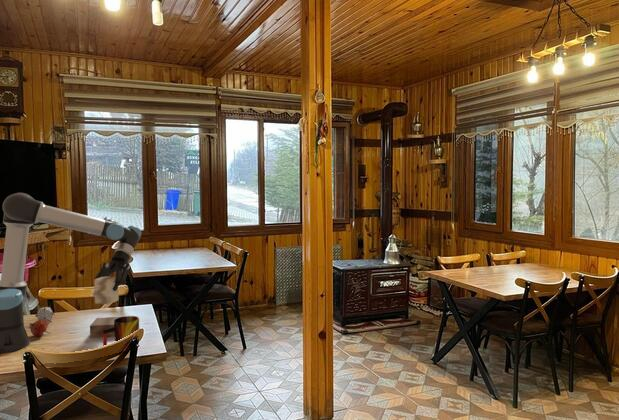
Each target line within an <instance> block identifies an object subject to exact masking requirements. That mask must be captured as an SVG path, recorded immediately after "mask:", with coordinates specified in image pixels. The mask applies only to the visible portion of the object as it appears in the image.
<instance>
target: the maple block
mask: <svg viewBox="0 0 619 420" xmlns="http://www.w3.org/2000/svg"><path fill="white" fill-rule="evenodd" d="M93 280H94V287H95V297H94V302H95V304H97V305H111V304H113V303H116V302H117V301H119V297H120V296H119V287H118V288H117V290H116V291H115V292H114V294H113V296H112V298H109V297H108V296H107V294H108V292H109V290H110V288H111V286H112V284H113V283H115V280H116V276H110V275H109V276H104V277H100V278H97V279H95V278H94V279H93Z"/></svg>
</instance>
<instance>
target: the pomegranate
mask: <svg viewBox="0 0 619 420" xmlns="http://www.w3.org/2000/svg"><path fill="white" fill-rule="evenodd" d="M48 322H49V321H48ZM48 322H47V321H45V320H38V319H37V320H36V321H35V322H33V323H29V325H31V326H30V332H31V334H32V335H33V336H34V337H36V338H37V337H38V338H40V337H42V336H43V335H44V333H48V334H50V335H51V332H49V331H47V330H48V327H49V326H48V325H49V323H48Z"/></svg>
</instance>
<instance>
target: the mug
mask: <svg viewBox="0 0 619 420" xmlns="http://www.w3.org/2000/svg"><path fill="white" fill-rule="evenodd" d="M119 317H120V318H117V319H115V320H114V327H112V328H108V329H104V330H103V338H102V340H103V341H102V347H103V346H104V345H107V346H108V344H107V343H108V342H107V338H108V337H107V338H106V333H110V332H114V331H115V337H114V342H115V341H118V340H120V339H122V338H124V337H126V336H128V335H130V334H131V333H133V332H134V331H136V330H138V329H139V330H140V317H139V316H135V315H130V316H129V315H126V316H124V317H123V316H119Z"/></svg>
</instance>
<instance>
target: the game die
mask: <svg viewBox="0 0 619 420" xmlns="http://www.w3.org/2000/svg"><path fill="white" fill-rule="evenodd" d="M51 306H52V305H49V306H45V307H44V306H43V307H40V306H38V311H37V313H36V314H35V315H34V317H36V318H37V321H38V320H45V321H47V322H50V323H52V319H53V316H54V315H55V312H54V311H53V310H52V307H51Z"/></svg>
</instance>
